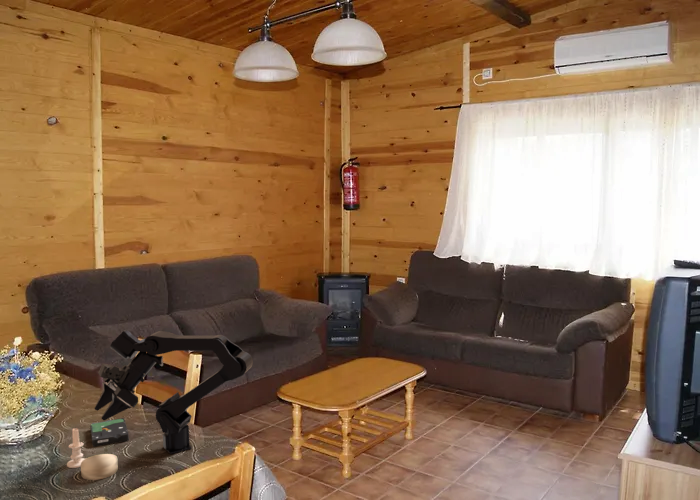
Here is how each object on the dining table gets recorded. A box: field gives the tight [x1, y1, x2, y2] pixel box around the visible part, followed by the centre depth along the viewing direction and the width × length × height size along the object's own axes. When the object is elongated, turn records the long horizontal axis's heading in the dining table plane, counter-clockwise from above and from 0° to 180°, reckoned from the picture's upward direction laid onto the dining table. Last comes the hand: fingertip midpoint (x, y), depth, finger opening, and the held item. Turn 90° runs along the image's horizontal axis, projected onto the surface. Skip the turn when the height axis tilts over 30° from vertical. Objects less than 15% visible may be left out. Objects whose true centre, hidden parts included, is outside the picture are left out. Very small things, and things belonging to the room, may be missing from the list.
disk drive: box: [89, 417, 130, 448], centre depth 187 cm, size 10×3×15 cm
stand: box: [80, 453, 119, 481], centre depth 162 cm, size 9×9×3 cm
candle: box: [66, 426, 86, 469], centre depth 167 cm, size 5×5×10 cm
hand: (99, 414), depth 170 cm, fingers open, 9 cm apart
